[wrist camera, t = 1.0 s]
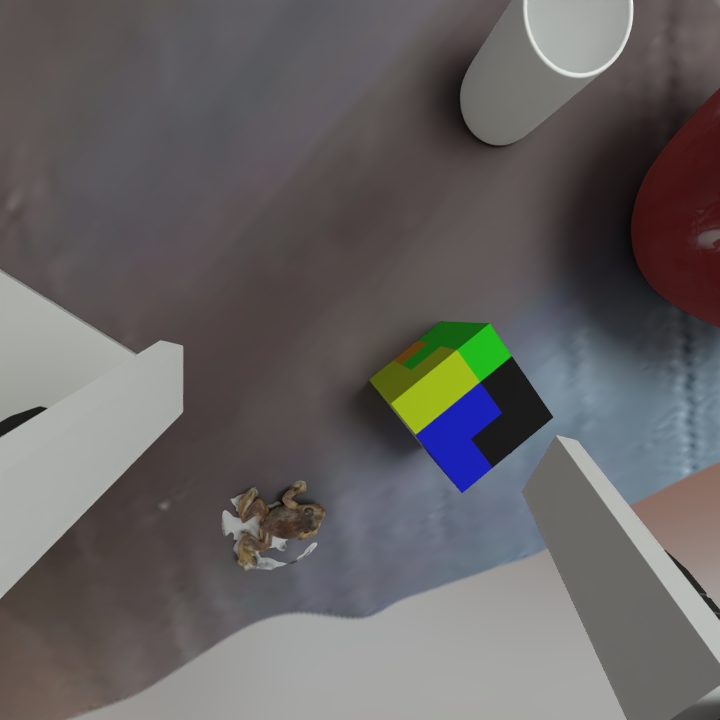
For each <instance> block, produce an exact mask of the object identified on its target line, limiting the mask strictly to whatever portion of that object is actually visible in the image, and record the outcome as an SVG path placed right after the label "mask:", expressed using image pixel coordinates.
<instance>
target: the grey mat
mask: <svg viewBox="0 0 720 720" xmlns="http://www.w3.org/2000/svg"><path fill="white" fill-rule="evenodd" d="M136 355H137V354H136V353H135V352H133V351H131V350H130V349H128V348H126V347H125V346H123V345H122V344H120V343H118V342H117V341H115V340H114V339H112V338H110V337H109V336H107V335H106V334H104V333H102V332H101V331H99V330H97V329H96V328H94V327H93V326H91V325H89V324H88V323H86V322H85V321H83V320H81V319H80V318H78V317H77V316H75V315H73V314H72V313H70V312H68V311H67V310H65V309H64V308H62V307H60V306H59V305H57V304H56V303H54V302H52V301H51V300H49V299H48V298H46V297H44V296H43V295H41V294H39V293H38V292H36V291H35V290H33V289H31V288H30V287H28V286H27V285H25V284H23V283H22V282H20V281H19V280H17V279H15V278H14V277H12V276H10V275H9V274H7V273H6V272H4V271H2V270H1V269H0V422H1V421H3V420H5V419H6V418H8V417H10V416H12V415H15V414H18V413H21V412H24V411H27V410H30V409H33V408H36V407H39V406H41V407H46V408H50V407H51V406H53V405H55V404H56V403H58V402H60V401H61V400H63V399H65V398H66V397H68V396H70V395H71V394H73V393H74V392H76V391H78V390H79V389H81V388H83V387H84V386H86V385H88V384H89V383H91V382H93V381H94V380H96V379H98V378H99V377H101V376H103V375H104V374H106V373H108V372H109V371H111V370H112V369H114V368H116V367H117V366H119V365H121V364H122V363H124V362H126V361H127V360H129V359H131V358H132V357H134V356H136Z"/></svg>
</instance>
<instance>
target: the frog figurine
mask: <svg viewBox="0 0 720 720" xmlns="http://www.w3.org/2000/svg"><path fill="white" fill-rule="evenodd" d="M306 490H307V488H306V483H305V482H304V481H297V482H294V483H293V484H292V485H291V486H290V488H289V491H287V492H286V493H285V494H284V496H283V498H282V501H283V503H284V504H283V505H282V504H281V503H280V502H275V503H274V504H271V505H267V506H266V504H265V503H264V502H263V501H262V500H261V499H257V496H258V491H257V490H256V487H255V488H251V489H250V490H249V491H248V492H246V493H245V494H242V495H239V496H237V497H236V498H235V499H231V501H232V503H233V505H234V506H235V507H236V511H238V512H239V516H240V517H241V518H235V517H233V516H232V515H231V514H230V513H229V512H228V511H226V510H224V511H223V514H222V519H221V520H222V521H221V524H222V532H223V534H224V536H225V537H226V536H227V535H228V534H229V533H230V532H233V534H234V540H237V542H236V544H235V546H234V548H233V550H234V551H235V553H236V554H237V556H238V558H239V559H238V562H237V563H238V565H240V566H242V567H243V568H244V570H246V571H248V570H252V569H267V570H273V569H274V568H276V567H277V566H279V567H282V566H283V565H285V564H286V563H283V562H277V561H275V560H273V559H270V558H261V557H260V555H259V554H258V552H259V551H261V552H263V551H264V550H267V549H268V548H273V547H277V548H278V549H279V550H281V551H285V548H286V545H285V541H286V540H287V539H291V538H294V537H295V536H296V539H297V540H302V539H307V538H309V537H311V536H314V535H316V533H317V532H318V528H319V527H320V525H321V522H322V521H323V519H324V518H325V516H326V511H325V510H324V509H323V507H322V505H321V504H317V505H316V504H305V505H300V504H298V503H296V502H295V501H293V500H292V497H297V496H299V494H304V493H305V492H306ZM255 514H256V516H254V515H255ZM252 516H254V517H253V518H251V519H250V520H248V519H249V518H250V517H252ZM247 520H248V521H247ZM259 540H261V541H259ZM282 546H283V547H282ZM316 546H317V543H313V544H311V545H310V546H309V547H308V548H307V549H306V550H305V552H304V554H303V555H300V556H299V557H298V558H297V560H295V561H293V562H291V563H289V564H294V563H296V562H298V561H299V560H301V559H302V558H303V557H305V556H307V555H309V554H310V553H311V552H312V550H313V549H314V548H315V547H316ZM289 564H288V565H289Z"/></svg>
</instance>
